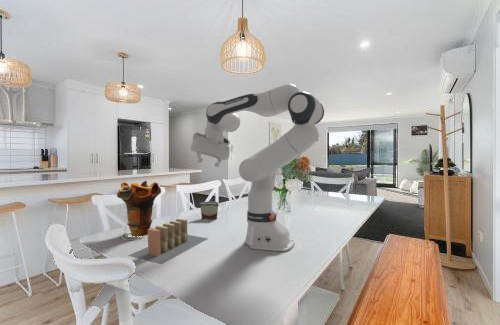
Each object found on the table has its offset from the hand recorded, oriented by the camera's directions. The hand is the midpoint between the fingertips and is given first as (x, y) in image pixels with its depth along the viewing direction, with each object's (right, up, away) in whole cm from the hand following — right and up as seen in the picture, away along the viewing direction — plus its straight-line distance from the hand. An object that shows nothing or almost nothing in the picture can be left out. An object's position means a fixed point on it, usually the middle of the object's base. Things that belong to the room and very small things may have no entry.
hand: (208, 164), depth 119 cm
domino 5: (-11, -35, -8) cm, 38 cm away
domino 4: (-12, -35, -12) cm, 39 cm away
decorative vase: (-35, -36, +5) cm, 50 cm away
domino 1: (-17, -36, -23) cm, 46 cm away
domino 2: (-16, -35, -19) cm, 43 cm away
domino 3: (-14, -35, -16) cm, 41 cm away
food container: (-4, -34, +34) cm, 49 cm away
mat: (-13, -36, -14) cm, 41 cm away
